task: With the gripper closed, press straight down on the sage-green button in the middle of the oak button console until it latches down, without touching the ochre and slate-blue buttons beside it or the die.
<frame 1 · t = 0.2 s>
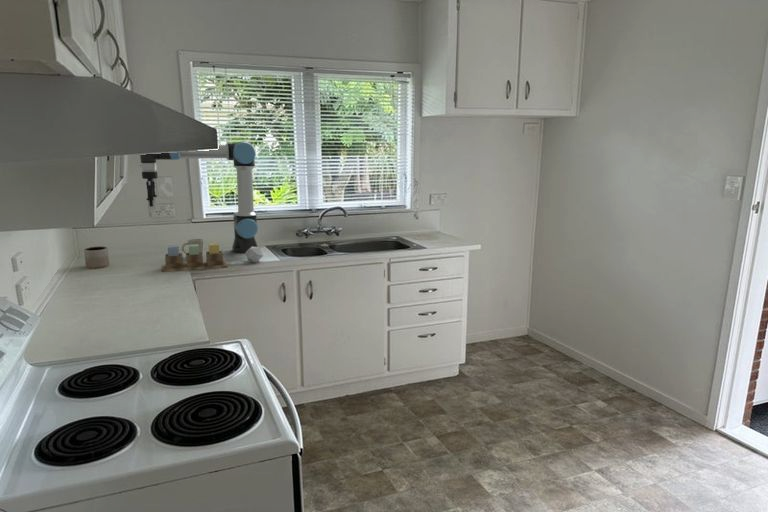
hand: (153, 210, 275), 28 cm above the counter, fingers open, 13 cm apart
planter: (97, 266, 268), on the counter
console: (195, 266, 270), on the counter
button sage: (194, 251, 268), point 8 cm above the counter, slide at 0.0 cm
button ochre: (214, 250, 271), point 8 cm above the counter, slide at 0.0 cm
die: (254, 261, 283), on the counter
button slate: (173, 253, 264), point 8 cm above the counter, slide at 0.0 cm
mug: (193, 257, 290), on the counter
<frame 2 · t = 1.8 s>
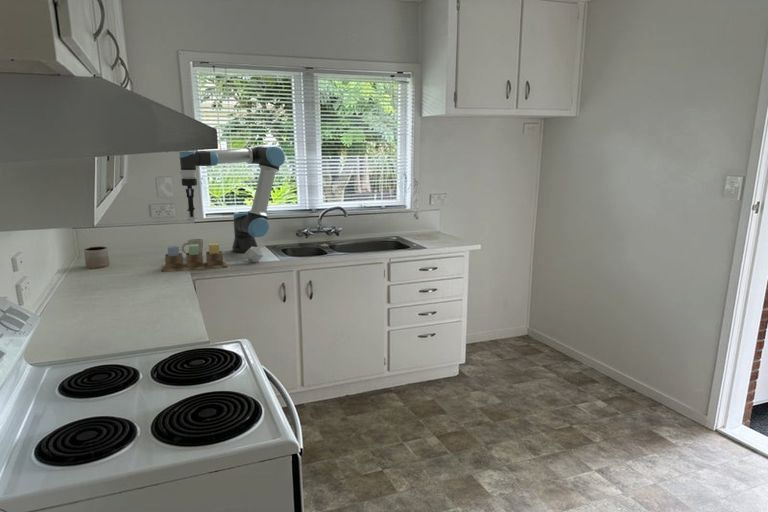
hand: (192, 222, 272), 23 cm above the counter, fingers open, 3 cm apart
nothing on the counter moved.
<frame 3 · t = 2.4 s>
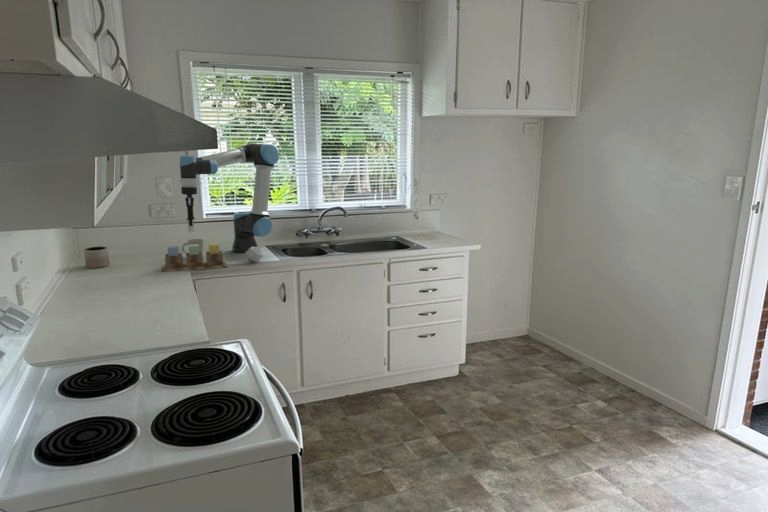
hand: (191, 231, 266), 19 cm above the counter, fingers closed
nothing on the counter moved.
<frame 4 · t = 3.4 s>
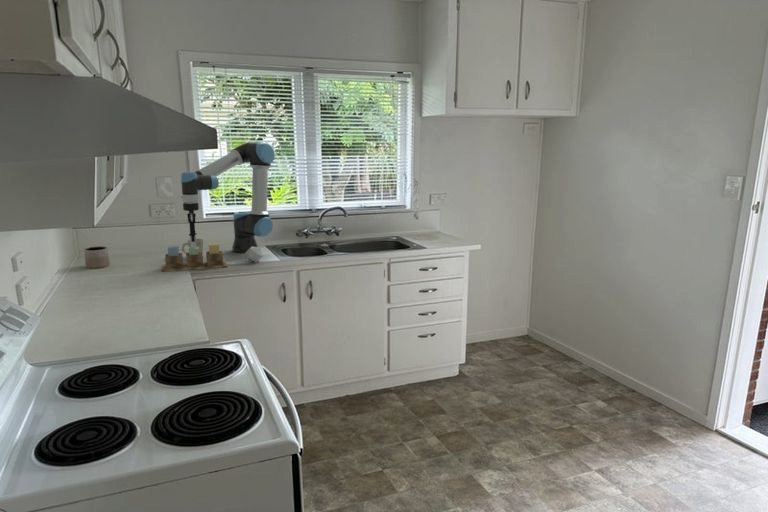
hand: (193, 247, 267), 10 cm above the counter, fingers closed
button sage: (194, 254, 268), point 7 cm above the counter, slide at 1.4 cm, touching gripper
everything else where it was.
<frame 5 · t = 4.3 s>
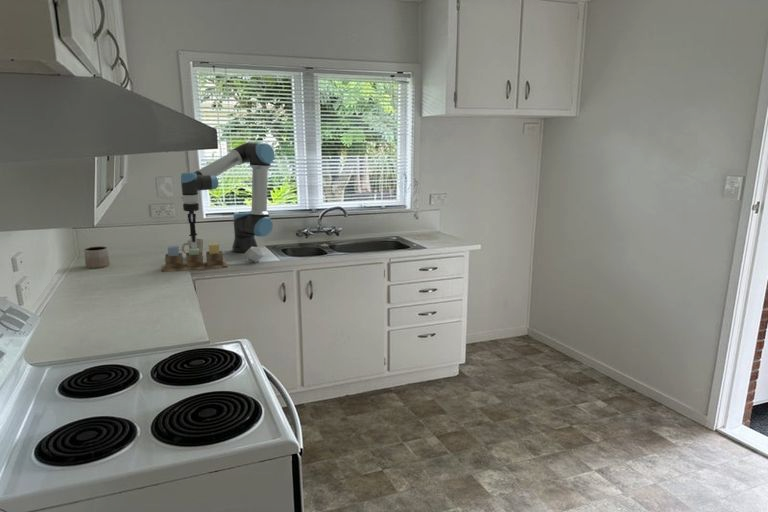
hand: (194, 247, 267), 10 cm above the counter, fingers closed
button sage: (194, 256, 268), point 6 cm above the counter, slide at 2.3 cm
everything else where it was.
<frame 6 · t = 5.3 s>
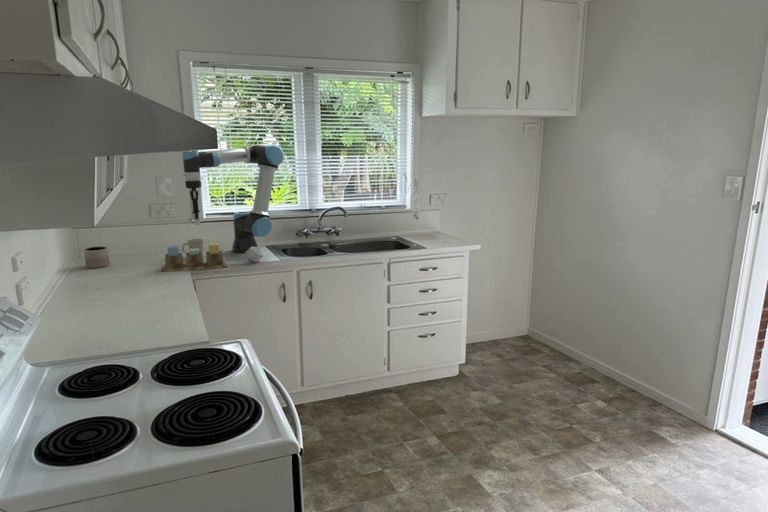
hand: (197, 224, 270), 22 cm above the counter, fingers closed
nothing on the counter moved.
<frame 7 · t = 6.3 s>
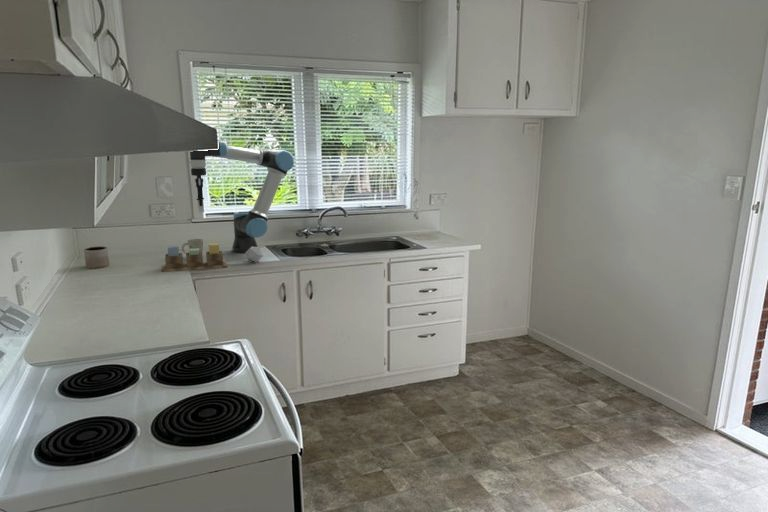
hand: (201, 211, 276), 27 cm above the counter, fingers closed
nothing on the counter moved.
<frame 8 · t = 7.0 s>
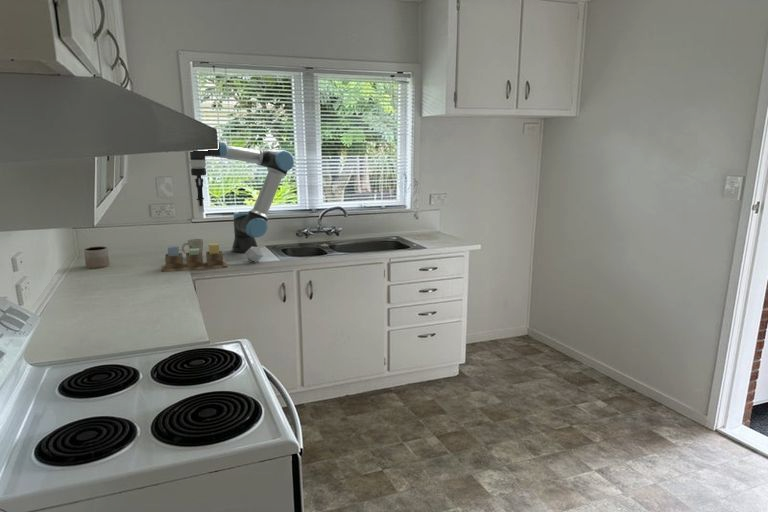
hand: (201, 211, 276), 27 cm above the counter, fingers closed
nothing on the counter moved.
at the end: button sage slide at 2.3 cm; button ochre slide at 0.0 cm; button slate slide at 0.0 cm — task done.
